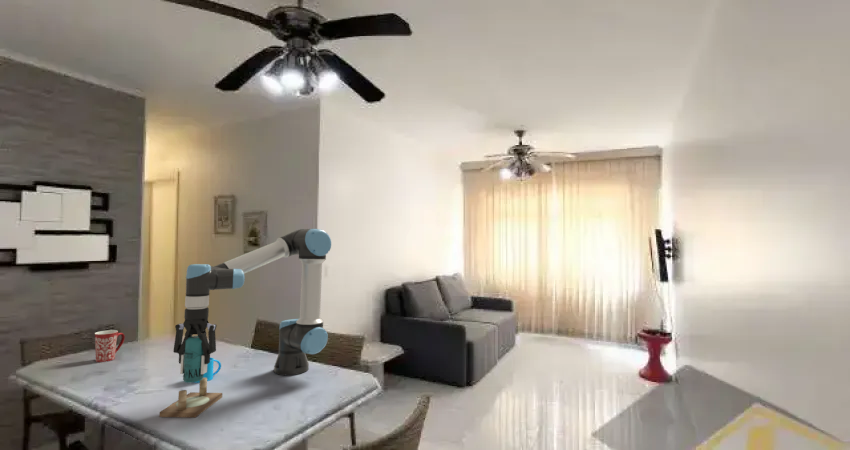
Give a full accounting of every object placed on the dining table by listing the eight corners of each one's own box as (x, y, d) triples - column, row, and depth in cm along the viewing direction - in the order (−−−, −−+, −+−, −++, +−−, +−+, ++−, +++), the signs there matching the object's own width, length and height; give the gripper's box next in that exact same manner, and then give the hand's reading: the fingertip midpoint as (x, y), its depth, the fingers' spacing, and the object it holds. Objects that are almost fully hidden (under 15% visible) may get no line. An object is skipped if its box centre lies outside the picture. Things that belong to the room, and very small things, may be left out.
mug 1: (99, 363, 192) (101, 334, 193) (89, 361, 196) (90, 332, 197) (128, 357, 204) (130, 329, 204) (118, 354, 208) (119, 328, 208)
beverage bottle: (187, 381, 148) (190, 325, 149) (207, 381, 149) (209, 325, 150) (178, 387, 142) (181, 329, 143) (198, 387, 142) (201, 329, 143)
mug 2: (196, 384, 168) (197, 363, 168) (187, 380, 172) (188, 360, 173) (225, 376, 177) (226, 357, 178) (215, 373, 182) (216, 354, 183)
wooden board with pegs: (222, 397, 154) (223, 376, 154) (195, 417, 136) (196, 394, 136) (190, 396, 154) (191, 376, 154) (159, 416, 136) (160, 393, 136)
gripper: (229, 306, 150) (226, 370, 149) (176, 305, 150) (172, 369, 149) (218, 309, 143) (215, 376, 142) (163, 308, 143) (159, 375, 142)
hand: (193, 372), depth 145 cm, fingers closed on beverage bottle, 6 cm apart
